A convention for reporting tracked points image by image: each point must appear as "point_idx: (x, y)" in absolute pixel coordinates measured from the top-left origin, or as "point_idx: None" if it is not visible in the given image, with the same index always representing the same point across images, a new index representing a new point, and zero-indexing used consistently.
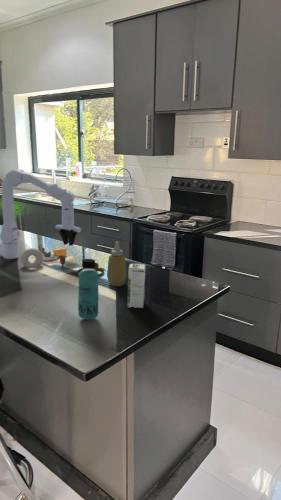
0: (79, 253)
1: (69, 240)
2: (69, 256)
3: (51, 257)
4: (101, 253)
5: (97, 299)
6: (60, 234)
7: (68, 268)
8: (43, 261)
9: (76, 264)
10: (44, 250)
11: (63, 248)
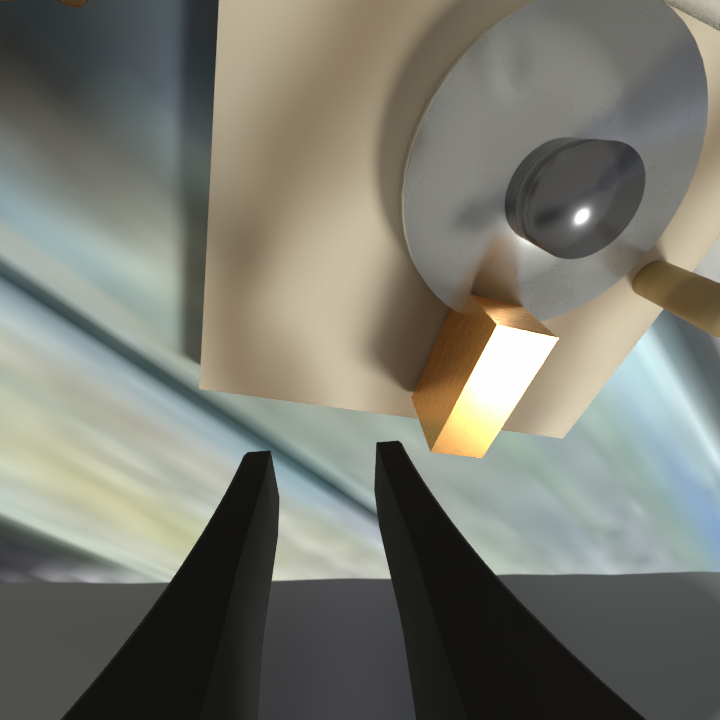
0: None
1: (218, 543)
2: (371, 396)
3: (461, 168)
4: (290, 573)
5: None
6: (553, 648)
7: (63, 89)
8: (513, 4)
9: (169, 298)
10: (682, 303)
11: (463, 438)
